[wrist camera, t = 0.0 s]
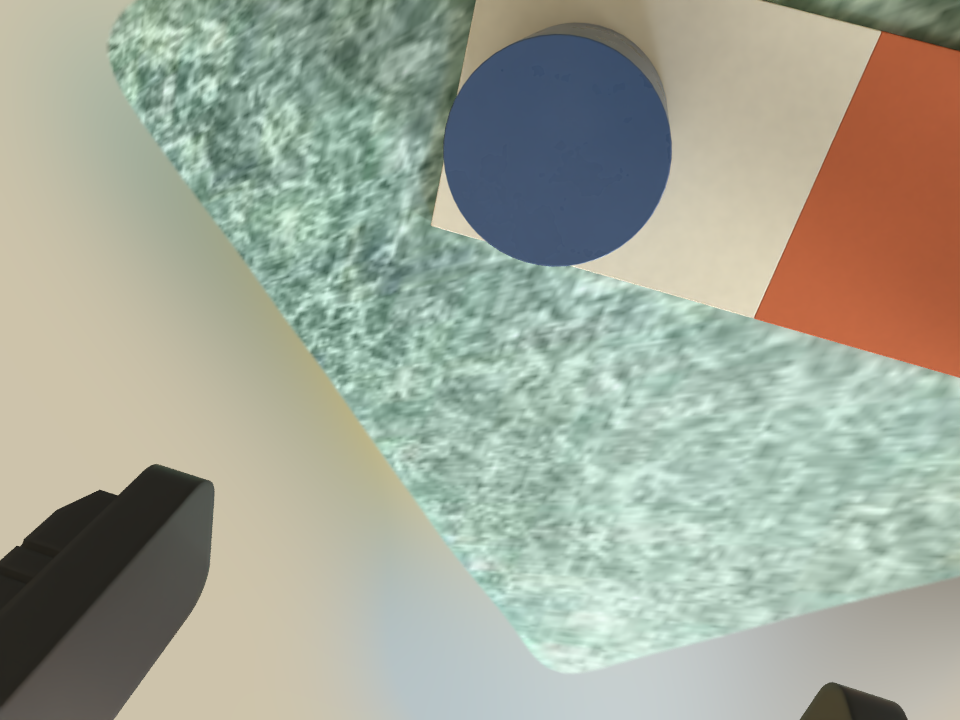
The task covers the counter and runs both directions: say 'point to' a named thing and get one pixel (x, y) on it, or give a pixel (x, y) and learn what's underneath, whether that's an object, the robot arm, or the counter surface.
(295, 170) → the counter surface
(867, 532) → the counter surface
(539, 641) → the counter surface
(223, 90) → the counter surface
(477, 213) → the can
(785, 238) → the mat
